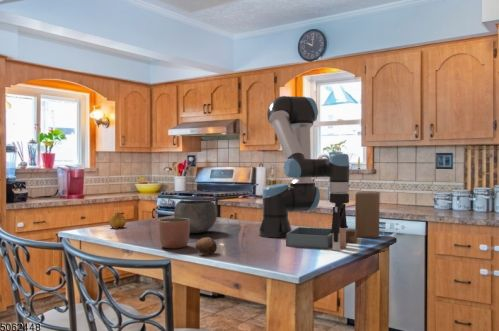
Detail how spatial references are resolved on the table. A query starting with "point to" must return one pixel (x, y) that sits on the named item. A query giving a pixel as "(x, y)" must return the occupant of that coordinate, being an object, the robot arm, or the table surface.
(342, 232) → the peach colored egg
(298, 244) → the tote
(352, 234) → the walnut cube
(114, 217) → the fruit
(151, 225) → the table surface
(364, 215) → the wooden block
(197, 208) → the bowl
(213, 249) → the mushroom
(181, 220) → the planter
